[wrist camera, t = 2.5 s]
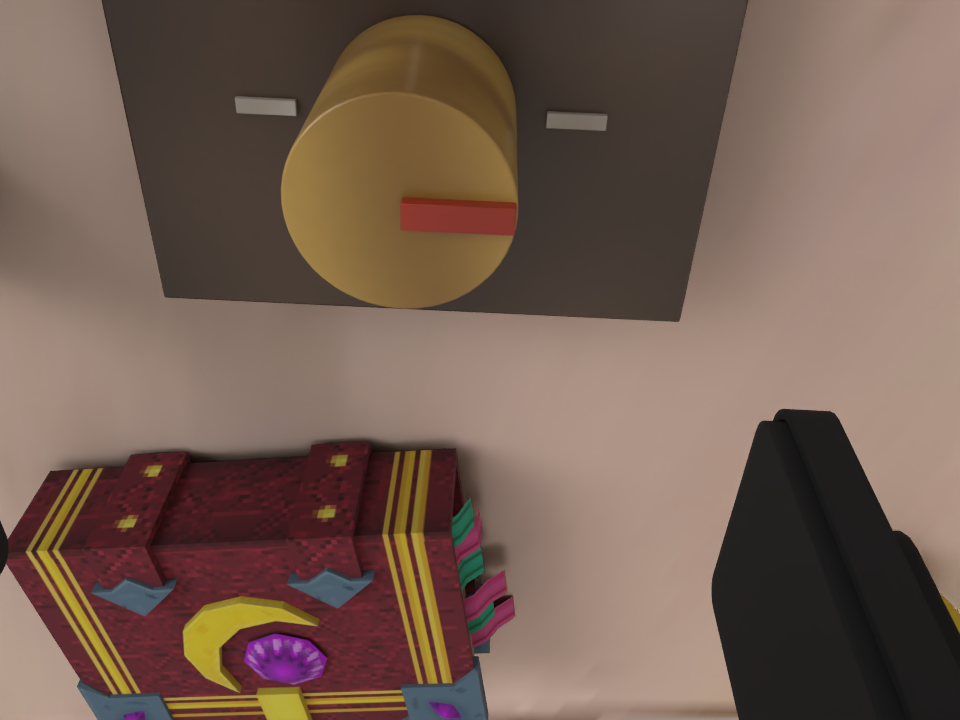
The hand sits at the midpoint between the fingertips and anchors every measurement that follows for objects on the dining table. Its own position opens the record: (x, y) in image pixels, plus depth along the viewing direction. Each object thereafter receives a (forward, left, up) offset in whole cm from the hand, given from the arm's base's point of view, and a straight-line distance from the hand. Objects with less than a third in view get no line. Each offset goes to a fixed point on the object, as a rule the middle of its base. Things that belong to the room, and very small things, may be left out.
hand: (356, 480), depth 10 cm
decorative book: (-5, -19, -15) cm, 25 cm away
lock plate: (0, 0, -15) cm, 15 cm away
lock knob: (0, 0, -12) cm, 12 cm away
